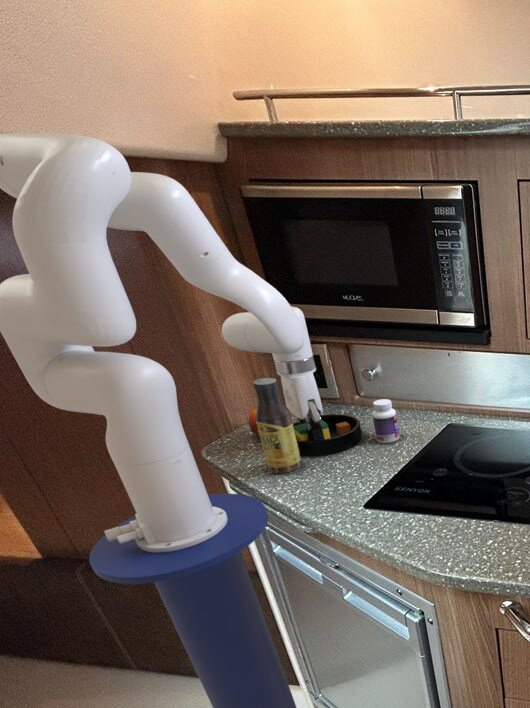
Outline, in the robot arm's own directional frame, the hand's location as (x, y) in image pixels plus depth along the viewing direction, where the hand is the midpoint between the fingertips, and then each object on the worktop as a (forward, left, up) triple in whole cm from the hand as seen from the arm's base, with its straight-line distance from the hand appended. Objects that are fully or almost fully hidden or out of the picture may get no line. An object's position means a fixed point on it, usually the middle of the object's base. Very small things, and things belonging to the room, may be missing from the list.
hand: (313, 439), depth 117 cm
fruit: (-5, +12, -1) cm, 13 cm away
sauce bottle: (-8, -8, -1) cm, 12 cm away
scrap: (+7, 0, 0) cm, 7 cm away
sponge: (0, 0, 0) cm, 0 cm away
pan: (+2, +3, -1) cm, 4 cm away
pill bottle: (+14, -8, -1) cm, 16 cm away
